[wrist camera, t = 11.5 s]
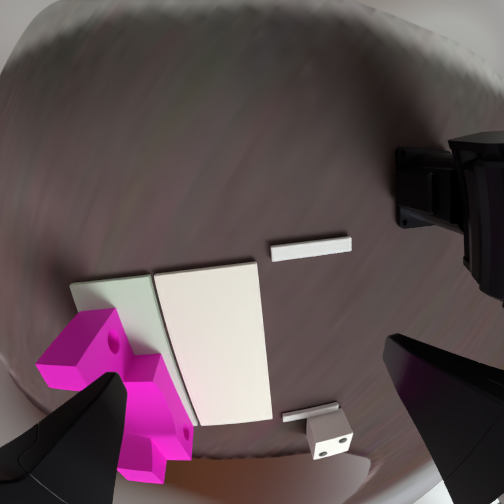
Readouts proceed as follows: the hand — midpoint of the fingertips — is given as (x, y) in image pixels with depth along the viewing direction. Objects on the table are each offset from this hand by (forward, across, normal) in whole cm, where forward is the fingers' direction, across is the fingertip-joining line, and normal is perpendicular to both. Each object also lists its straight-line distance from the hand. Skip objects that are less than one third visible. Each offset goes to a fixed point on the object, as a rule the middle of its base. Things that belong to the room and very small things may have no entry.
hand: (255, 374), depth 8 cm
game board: (+12, +2, +9) cm, 15 cm away
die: (+12, -7, +21) cm, 25 cm away
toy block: (+12, +10, +10) cm, 19 cm away
